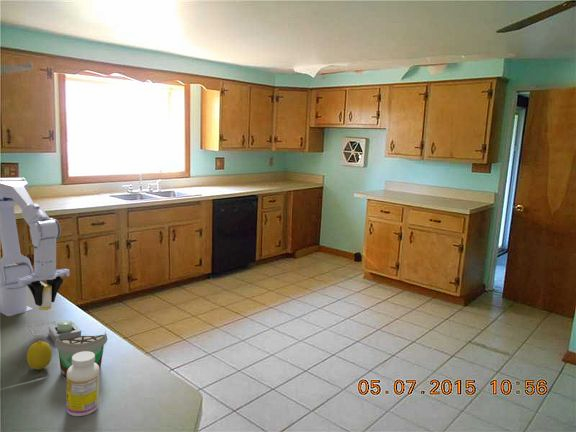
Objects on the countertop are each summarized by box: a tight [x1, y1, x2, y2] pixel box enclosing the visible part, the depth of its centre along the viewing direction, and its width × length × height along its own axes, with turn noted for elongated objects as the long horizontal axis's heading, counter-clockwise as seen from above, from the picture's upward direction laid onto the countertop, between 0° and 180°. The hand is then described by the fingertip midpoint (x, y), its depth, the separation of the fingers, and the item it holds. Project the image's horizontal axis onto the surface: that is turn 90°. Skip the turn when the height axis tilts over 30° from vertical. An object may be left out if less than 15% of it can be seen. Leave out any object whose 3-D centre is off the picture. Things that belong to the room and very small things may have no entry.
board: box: [27, 321, 58, 337], centre depth 131 cm, size 18×13×1 cm
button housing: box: [48, 321, 82, 344], centre depth 129 cm, size 7×7×2 cm
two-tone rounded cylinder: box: [38, 283, 53, 311], centre depth 131 cm, size 4×4×7 cm
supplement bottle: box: [65, 351, 101, 417], centre depth 97 cm, size 7×7×13 cm
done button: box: [56, 320, 74, 334], centre depth 128 cm, size 4×4×3 cm
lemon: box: [26, 340, 53, 371], centre depth 110 cm, size 6×6×8 cm
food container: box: [54, 332, 108, 379], centre depth 110 cm, size 12×6×10 cm, turn 117°
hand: (45, 303), depth 131 cm, fingers closed on two-tone rounded cylinder, 3 cm apart
